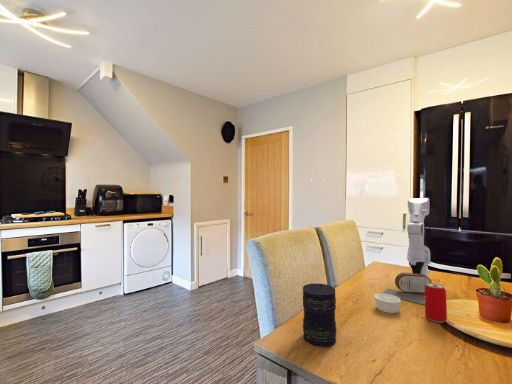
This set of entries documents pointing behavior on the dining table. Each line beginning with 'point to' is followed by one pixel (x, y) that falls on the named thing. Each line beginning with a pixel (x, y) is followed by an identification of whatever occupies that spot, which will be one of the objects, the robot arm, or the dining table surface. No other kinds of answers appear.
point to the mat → (406, 296)
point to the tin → (411, 282)
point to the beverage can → (435, 302)
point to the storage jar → (319, 315)
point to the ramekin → (387, 303)
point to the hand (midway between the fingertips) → (416, 277)
